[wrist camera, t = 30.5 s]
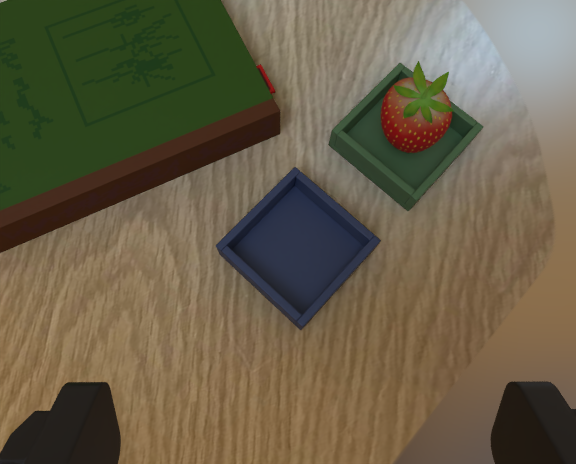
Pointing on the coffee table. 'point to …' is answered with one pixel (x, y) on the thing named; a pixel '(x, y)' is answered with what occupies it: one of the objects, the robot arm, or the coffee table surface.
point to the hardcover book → (117, 103)
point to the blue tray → (297, 247)
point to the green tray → (389, 160)
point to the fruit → (416, 112)
